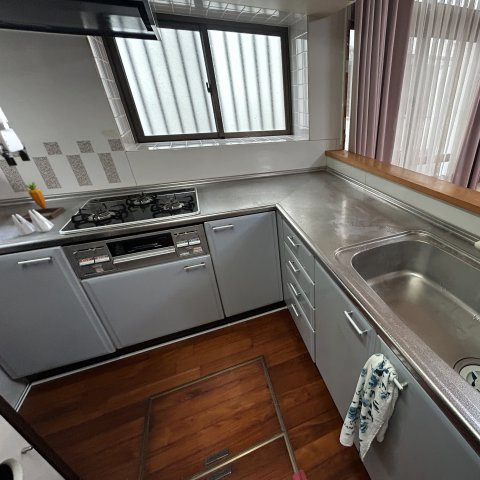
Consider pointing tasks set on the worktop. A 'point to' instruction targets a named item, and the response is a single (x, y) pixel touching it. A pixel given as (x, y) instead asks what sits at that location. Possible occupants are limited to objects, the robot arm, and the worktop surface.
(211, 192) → the worktop surface
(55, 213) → the frame
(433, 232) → the worktop surface
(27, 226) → the shaker set
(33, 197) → the carrot
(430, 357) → the worktop surface
